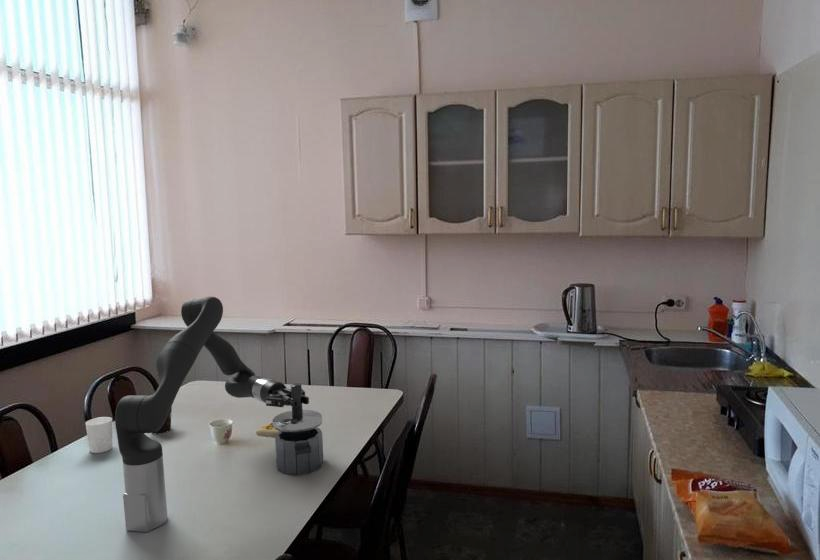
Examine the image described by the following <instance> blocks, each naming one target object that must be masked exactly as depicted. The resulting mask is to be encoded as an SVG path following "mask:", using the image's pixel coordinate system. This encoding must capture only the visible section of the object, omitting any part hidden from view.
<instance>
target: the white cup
mask: <svg viewBox="0 0 820 560" xmlns="http://www.w3.org/2000/svg"><path fill="white" fill-rule="evenodd" d="M85 428H86V436H87V441H88V446H89V451H90V453H91V454H100V453H104V452H105V453H106V452H108V451H110V450H112V449H113V418H112V417H111V416H100V417H94V418H92V419H91V418H90V419H89V420H87V421H85Z"/></svg>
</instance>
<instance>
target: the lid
mask: <svg viewBox="0 0 820 560" xmlns="http://www.w3.org/2000/svg"><path fill="white" fill-rule="evenodd" d="M290 389H291V398H292V399H296V400H298V401H299V407H297V408H295V407H292V406H291V410H289V411H283V412H282V413H279V414H276V415H275V416H274V417H273V418H272V423H273V427H274V428H275V429H276V430H278V431H282V432H303V431H308V430H311V429H314V428H316V427H317V428H319V426H321V425H322V424H323V415H322V413H321V412H318V411H316V410H312V409H303V403H302V389H303V388H302V384H301V383H293V384H290Z"/></svg>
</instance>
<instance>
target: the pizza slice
mask: <svg viewBox="0 0 820 560" xmlns="http://www.w3.org/2000/svg"><path fill="white" fill-rule="evenodd" d="M278 432H279V431H278V430H276V429H275V428H274V427H273V422H270V424H267V425H265V426H262V427H261V428H260V429H256V431H255V435H256V434H257V435H256V436H260V435H262V436H261V437H268V436H272V438H275V435H276V434H277V433H278Z"/></svg>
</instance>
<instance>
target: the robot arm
mask: <svg viewBox="0 0 820 560" xmlns="http://www.w3.org/2000/svg"><path fill="white" fill-rule="evenodd" d="M180 313H181V314H180V315H181V318H182V320H183V322H184V324H185V325H186V327H185V328H184V329H183V330H180V331H179V332H178V333H176V334H175V335H174V336H173V337H171V338H170V339H169V340H168V341H167V342H166V344H164V346H163V348H162V349H161V351H160V353H159V354H158V356H157V358H156V362H155V368H156V373H157V377H158V379H159V385H158V386H157V389H156V390H155V392H154V393H153V394H151V395H145V394H144V395H141V394H140V395H139V394H138V395H134V394H133V395H125V396H123V397H121V398H120V399H119V401H118V402H117V405H116V407H115V412H114V415H115V416H114V422H115V431H116V437H117V445H118V450H119V453H120V455H121V458H122V467H123V479H124V480H123V481H124V493H123V495H122V497H123V498H122V500H123V509H124V510H123V511H124V520H125V521H124V522H125V530H126V531H130V532H132V531H133V532H138V533H139V532H140V533H141V532H142V533H149V532H151V530H153V529H154V530H155V529H157V528H158V527H160V526H163V525H164V524H165V523H166V522H167V520H168V507H167V492H166V482H165V481H166V478H165V468H164V454H163V445H162V444H161V443H160V441H158V440H155V439H153V438H152V437H149V436H148V435H147V434H154V432H157V431H158V430H159V429H160V428H161V427H162V426H163V424H164V423H165V421H166V419H167V416H168V414H169V412H170V409H171V407H172V408H173V404H174V401H175V399H176V397H177V394H178V393H179V390H180V388H181V386H182V385H183V383H184V381H185V379H186V377H187V375H188V374H189V372H190V371H191V369H192V368H193V366H194V364H195V361H196V360H197V358H198V356H199V354H200V353H201V350H202V349H203V347H205V348H206V350H208V352H209V353H210V355H211V356H212V358H213V359H214V361H215V363H216V364H217V366H218V368H219V369H220V372H222V374H223V375H225V376H230V377H229V378H228V379H227V380H226V381H225V383H224V389H225V391H226V392H227V394H228V395H229V396H231V397H234V398H238V399H240V398H241V399H243V398H253V399H255V400H258V401H259V402H262V403H265V405H266V407H276V408H284V407H289V406H290V407H291V408H292V407H295V408H297V407H299V401H298V400H296V399H292V398H291V388H288V387H287V386H286V385H285V383H282V382H281V381H277V380H274V379H270V378H265V377H261V376H258V375H256V374H255V372H254V371H253V370H252V369H251V368H250V367H249V366H247V365H246V364H245V363H244V362H243V361H242V360H241V358H240V356H239V354H238V352H237V351H236V349H235V347H234V346H233V345H232V344H231V343H230V342H229V341H228V340H226V339H224V337H221V336H220V335H219V334H217V333H215V330H216V329H217V327H218V326H219V324H220V322H221V321H222V318H223V315H224V306H223V302H222V300H220V299H219V298H217V297H216V296H203V297H196V298H191V299H187V300H185V301H184V302H183V304H182V306H181V310H180ZM303 404H304V405H309V404H310V399H309V396H306V391H305V390H304V389H303V388H302V405H303Z"/></svg>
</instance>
